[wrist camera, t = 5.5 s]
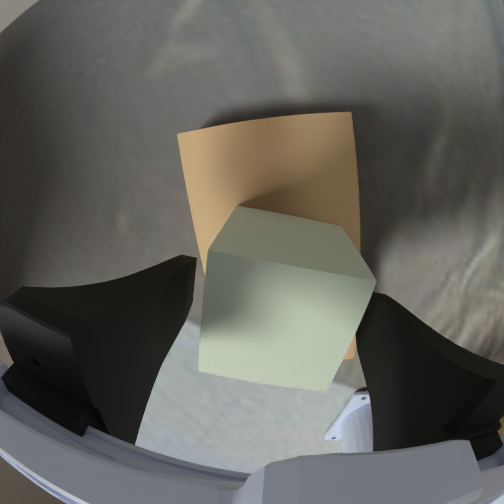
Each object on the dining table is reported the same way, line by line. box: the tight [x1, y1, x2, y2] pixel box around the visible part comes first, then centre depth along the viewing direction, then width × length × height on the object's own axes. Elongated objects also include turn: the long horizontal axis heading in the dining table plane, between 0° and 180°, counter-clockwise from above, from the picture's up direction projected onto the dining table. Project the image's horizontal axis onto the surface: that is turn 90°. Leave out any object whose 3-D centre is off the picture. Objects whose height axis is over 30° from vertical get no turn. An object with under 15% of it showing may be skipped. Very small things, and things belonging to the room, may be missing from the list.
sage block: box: [198, 206, 377, 391], centre depth 11 cm, size 5×5×6 cm
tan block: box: [177, 112, 360, 360], centre depth 15 cm, size 8×14×3 cm, turn 8°
